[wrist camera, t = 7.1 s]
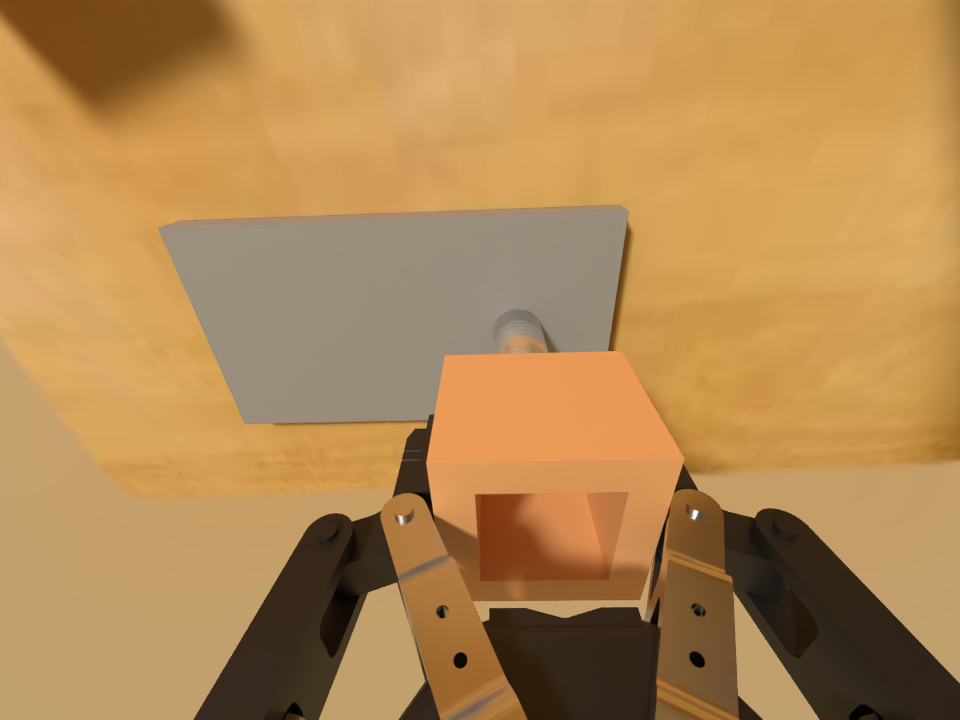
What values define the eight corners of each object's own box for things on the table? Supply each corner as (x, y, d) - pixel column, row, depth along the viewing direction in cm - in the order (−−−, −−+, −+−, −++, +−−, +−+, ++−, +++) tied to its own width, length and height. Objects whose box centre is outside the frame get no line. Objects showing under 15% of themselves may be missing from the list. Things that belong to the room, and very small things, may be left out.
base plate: (178, 221, 20) (158, 228, 19) (619, 204, 19) (628, 211, 18) (256, 409, 26) (245, 424, 25) (592, 401, 26) (598, 416, 24)
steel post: (492, 298, 22) (494, 366, 16) (539, 297, 22) (559, 364, 16) (493, 340, 23) (495, 416, 17) (537, 338, 23) (555, 415, 17)
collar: (445, 355, 14) (426, 463, 9) (621, 351, 14) (684, 459, 9) (456, 478, 17) (446, 601, 12) (600, 475, 17) (639, 600, 12)
